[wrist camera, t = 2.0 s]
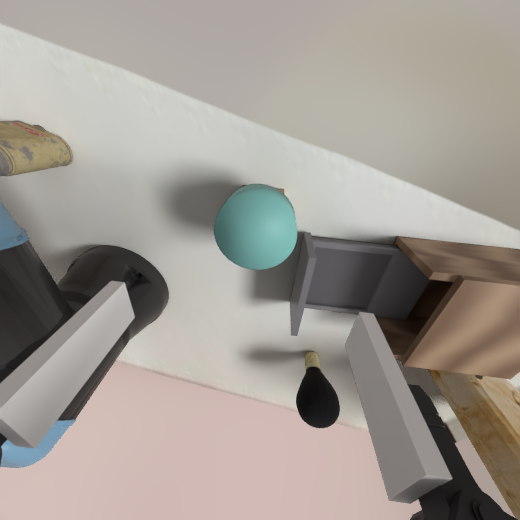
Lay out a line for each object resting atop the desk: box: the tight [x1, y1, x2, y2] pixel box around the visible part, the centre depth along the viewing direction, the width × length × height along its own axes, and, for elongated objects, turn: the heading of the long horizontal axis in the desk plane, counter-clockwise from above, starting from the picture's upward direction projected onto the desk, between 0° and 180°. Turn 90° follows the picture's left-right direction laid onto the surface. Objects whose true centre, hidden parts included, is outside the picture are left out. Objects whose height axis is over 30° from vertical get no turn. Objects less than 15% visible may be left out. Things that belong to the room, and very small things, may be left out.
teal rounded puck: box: [214, 184, 297, 270], centre depth 23 cm, size 8×8×4 cm
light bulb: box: [296, 352, 340, 428], centre depth 38 cm, size 7×7×12 cm
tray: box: [290, 232, 430, 336], centre depth 30 cm, size 18×13×6 cm
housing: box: [375, 236, 520, 379], centre depth 29 cm, size 16×14×9 cm
